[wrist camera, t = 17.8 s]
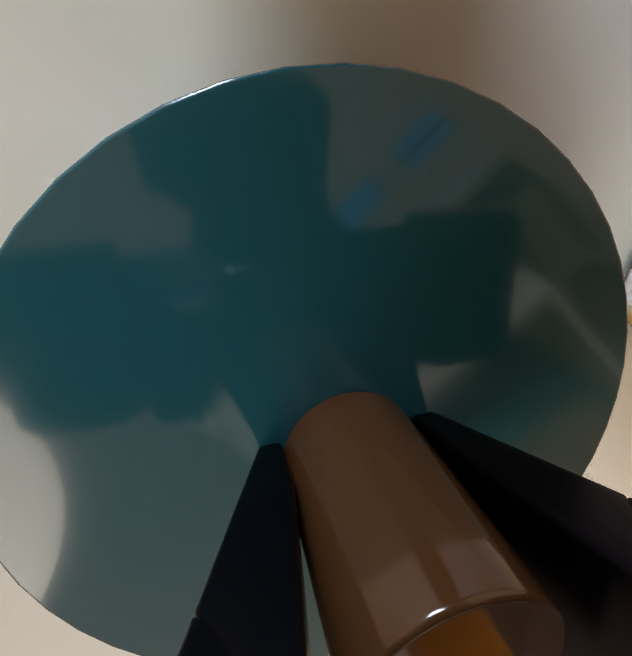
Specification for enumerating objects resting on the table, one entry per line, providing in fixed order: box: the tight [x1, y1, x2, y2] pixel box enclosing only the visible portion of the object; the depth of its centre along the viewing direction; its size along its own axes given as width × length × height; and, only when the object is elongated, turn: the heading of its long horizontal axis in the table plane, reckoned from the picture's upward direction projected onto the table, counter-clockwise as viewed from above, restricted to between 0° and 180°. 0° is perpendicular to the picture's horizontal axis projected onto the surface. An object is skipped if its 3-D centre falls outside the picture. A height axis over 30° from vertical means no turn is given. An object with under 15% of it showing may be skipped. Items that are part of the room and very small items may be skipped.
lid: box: [0, 63, 628, 656], centre depth 7 cm, size 13×13×5 cm
